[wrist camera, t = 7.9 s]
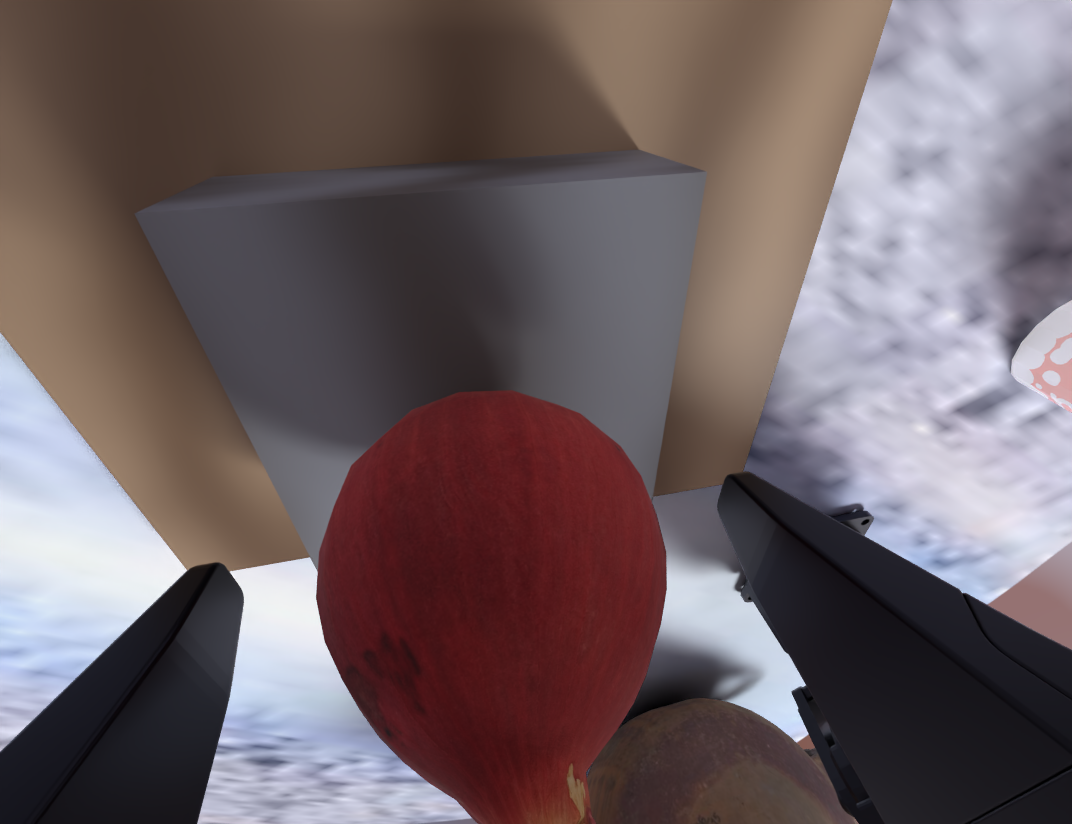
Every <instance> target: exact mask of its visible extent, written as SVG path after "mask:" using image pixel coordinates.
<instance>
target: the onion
mask: <svg viewBox="0 0 1072 824" xmlns="http://www.w3.org/2000/svg"><path fill="white" fill-rule="evenodd" d="M666 590H667V580H666V550H665V546H664V542H663V538H662V534H661V530H660V526H659V522H658V518H657V514H656V512H655V509H654V507H653V504H652V502H651V499H650V497H649V494H648V492H647V489H646V487H645V484H644V482H643V479H642V477H641V475H640V473H639V472H638V471H637V469H636V468H635V466H634V465H633V463H632V462H631V460H630V459H629V458H628V456H627V455H626V453H625V452H624V450H623V449H622V447H621V446H620V445H619V444H618V443H616V442H615V441H614V440H613V439H611V438H610V437H609V436H608V435H606V434H605V433H604V432H603V431H601V430H600V429H599V428H598V427H597V426H595V425H594V424H593V423H592V422H590V421H589V420H588V419H587V418H585V417H584V416H583V415H582V414H580V413H578V412H575V411H573V410H570V409H568V408H565V407H563V406H560V405H558V404H554V403H551V402H548V401H545V400H542V399H538V398H535V397H532V396H529V395H526V394H522V393H519V392H516V391H513V390H505V391H474V392H458V393H455V394H453V395H450V396H447V397H445V398H442V399H439V400H437V401H434V402H431V403H429V404H426V405H423V406H421V407H418V408H416V409H413V410H411V411H410V412H409V413H408V414H407V415H406V416H404V417H403V418H402V419H401V420H400V421H399V422H398V423H397V424H395V425H394V426H393V427H392V428H391V429H390V430H389V431H387V432H386V433H385V434H384V435H383V436H382V437H381V438H380V439H378V440H377V441H376V442H375V443H374V444H373V445H372V446H371V447H370V448H369V449H368V450H367V451H366V452H365V453H364V454H363V455H362V456H361V457H360V458H358V459H357V460H356V461H355V462H354V463H353V464H352V465H351V467H350V469H349V472H348V474H347V476H346V479H345V481H344V484H343V486H342V488H341V491H340V493H339V495H338V498H337V500H336V503H335V505H334V508H333V511H332V514H331V517H330V520H329V523H328V526H327V529H326V532H325V535H324V538H323V541H322V544H321V547H320V550H319V560H318V576H317V593H316V600H317V605H318V610H319V615H320V620H321V625H322V630H323V635H324V640H325V643H326V645H327V647H328V650H329V652H330V654H331V656H332V658H333V660H334V663H335V665H336V667H337V669H338V671H339V673H340V676H341V678H342V680H343V682H344V683H345V685H346V687H347V689H348V690H349V692H350V694H351V695H352V697H353V699H354V701H355V702H356V704H357V706H358V708H359V709H360V711H361V712H362V714H363V715H364V716H365V718H366V719H367V721H368V722H369V723H370V725H371V726H372V728H373V729H374V731H375V732H376V733H377V735H378V736H379V738H380V739H381V740H382V741H383V742H384V743H385V744H386V745H387V746H388V747H389V748H390V749H391V750H392V751H393V752H394V753H395V754H396V755H397V756H398V757H399V758H400V759H401V760H402V761H403V762H404V763H405V764H407V765H408V766H409V767H410V768H411V769H413V770H414V771H415V772H416V773H418V774H419V775H420V776H421V777H423V778H424V779H425V780H426V781H427V782H429V783H430V784H432V785H433V786H435V787H436V788H438V789H440V790H441V791H443V792H444V793H446V794H447V795H449V796H451V797H452V798H454V799H455V800H456V801H457V802H458V803H459V804H460V805H461V806H462V807H463V808H464V809H465V810H466V811H467V813H468V814H469V815H470V816H471V817H472V818H473V819H474V820H475V821H476V822H477V823H478V824H596V822H595V819H594V818H593V817H592V813H591V806H590V798H589V791H588V784H587V777H586V772H587V770H588V769H589V767H590V766H591V765H592V763H593V762H594V760H595V759H596V757H597V756H598V754H599V753H600V752H601V750H602V749H603V748H604V746H605V745H606V744H607V742H608V741H609V740H610V739H611V737H612V736H613V735H614V733H615V732H616V731H617V729H618V728H619V726H620V725H621V723H622V722H623V720H624V718H625V717H626V715H627V713H628V712H629V710H630V708H631V707H632V705H633V704H634V701H635V699H636V697H637V695H638V693H639V690H640V688H641V686H642V684H643V681H644V679H645V677H646V674H647V670H648V667H649V664H650V660H651V657H652V653H653V650H654V646H655V643H656V639H657V636H658V632H659V629H660V625H661V620H662V614H663V608H664V602H665V596H666Z"/></svg>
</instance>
